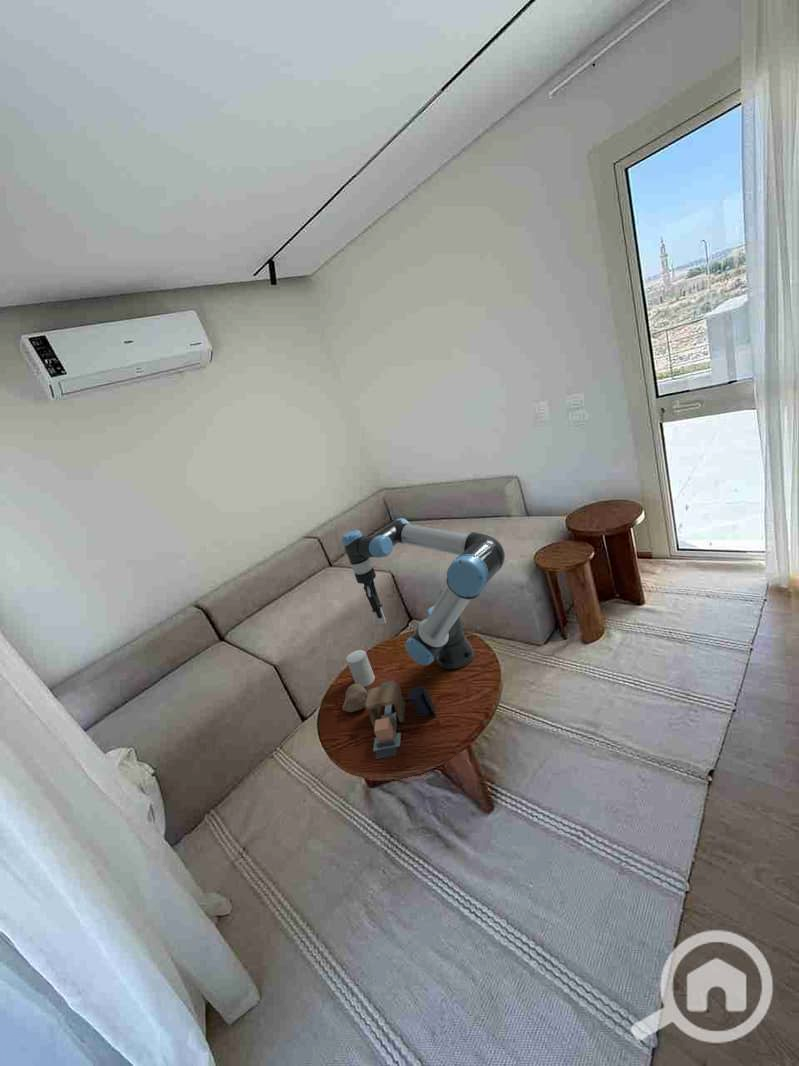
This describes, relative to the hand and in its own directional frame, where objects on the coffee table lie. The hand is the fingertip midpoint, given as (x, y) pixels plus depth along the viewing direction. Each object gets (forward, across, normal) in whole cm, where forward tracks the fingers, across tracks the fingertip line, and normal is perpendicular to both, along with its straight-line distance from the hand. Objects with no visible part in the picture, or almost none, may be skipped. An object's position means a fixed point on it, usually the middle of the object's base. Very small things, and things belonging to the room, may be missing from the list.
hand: (382, 623), depth 172 cm
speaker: (+23, +28, +8) cm, 37 cm away
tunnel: (+23, +25, -5) cm, 34 cm away
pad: (+23, +37, -6) cm, 44 cm away
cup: (+22, +1, -15) cm, 27 cm away
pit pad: (+23, +42, -6) cm, 48 cm away
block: (+21, +36, -6) cm, 42 cm away
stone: (+23, +14, -18) cm, 32 cm away
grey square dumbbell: (+22, +26, -5) cm, 34 cm away
